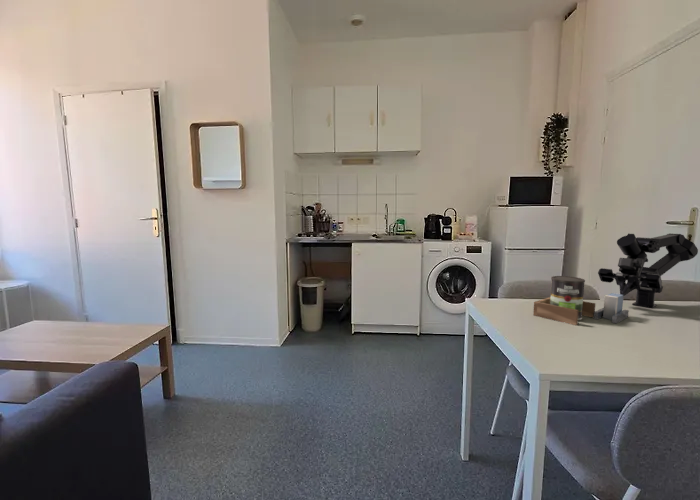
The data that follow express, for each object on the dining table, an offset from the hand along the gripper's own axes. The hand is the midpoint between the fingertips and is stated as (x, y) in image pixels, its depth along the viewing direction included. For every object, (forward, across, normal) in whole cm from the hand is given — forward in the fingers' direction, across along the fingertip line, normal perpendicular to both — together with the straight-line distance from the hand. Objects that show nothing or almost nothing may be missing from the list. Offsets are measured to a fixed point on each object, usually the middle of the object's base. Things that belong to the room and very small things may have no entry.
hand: (621, 295), depth 131 cm
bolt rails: (+12, 0, -2) cm, 12 cm away
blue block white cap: (+10, 0, -1) cm, 10 cm away
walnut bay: (+19, -10, -10) cm, 24 cm away
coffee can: (+20, -10, -10) cm, 24 cm away
